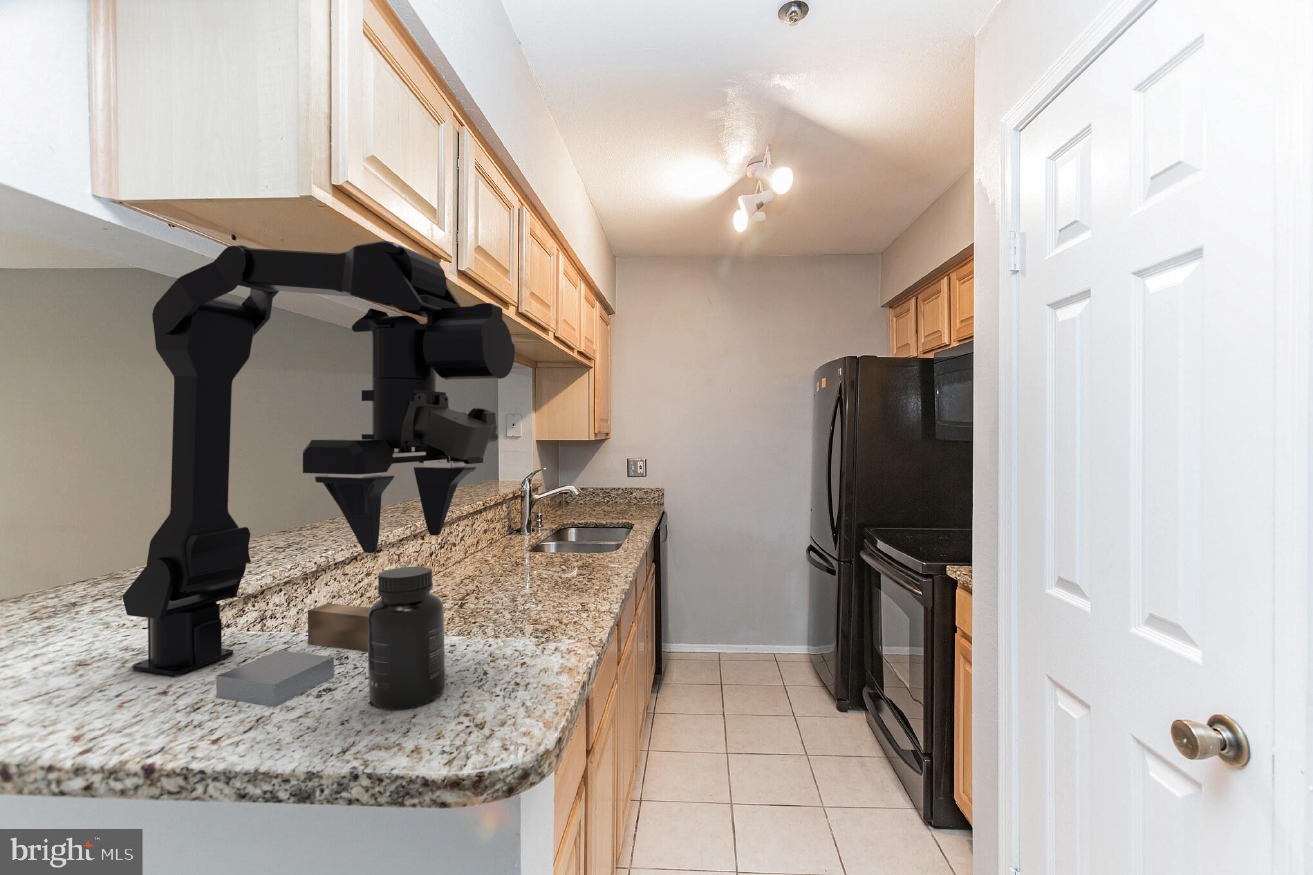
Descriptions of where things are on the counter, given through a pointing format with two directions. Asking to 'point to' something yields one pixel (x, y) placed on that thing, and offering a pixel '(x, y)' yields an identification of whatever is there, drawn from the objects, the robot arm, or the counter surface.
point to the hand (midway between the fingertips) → (405, 543)
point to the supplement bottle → (405, 640)
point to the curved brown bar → (338, 626)
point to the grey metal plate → (274, 678)
